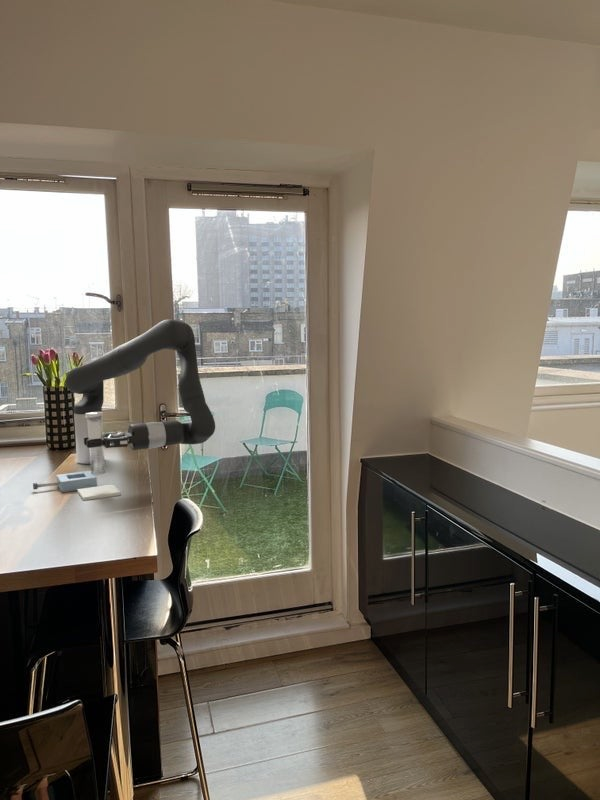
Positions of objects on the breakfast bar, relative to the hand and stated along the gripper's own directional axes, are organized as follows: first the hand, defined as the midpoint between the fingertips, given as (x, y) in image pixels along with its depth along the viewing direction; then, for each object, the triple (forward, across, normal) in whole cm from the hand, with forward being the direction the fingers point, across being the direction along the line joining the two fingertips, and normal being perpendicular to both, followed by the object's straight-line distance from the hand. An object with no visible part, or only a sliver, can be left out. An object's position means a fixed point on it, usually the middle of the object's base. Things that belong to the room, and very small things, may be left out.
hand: (85, 442), depth 172 cm
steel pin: (-3, 0, +9) cm, 9 cm away
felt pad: (-2, 0, +15) cm, 15 cm away
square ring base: (+5, -12, +15) cm, 20 cm away
